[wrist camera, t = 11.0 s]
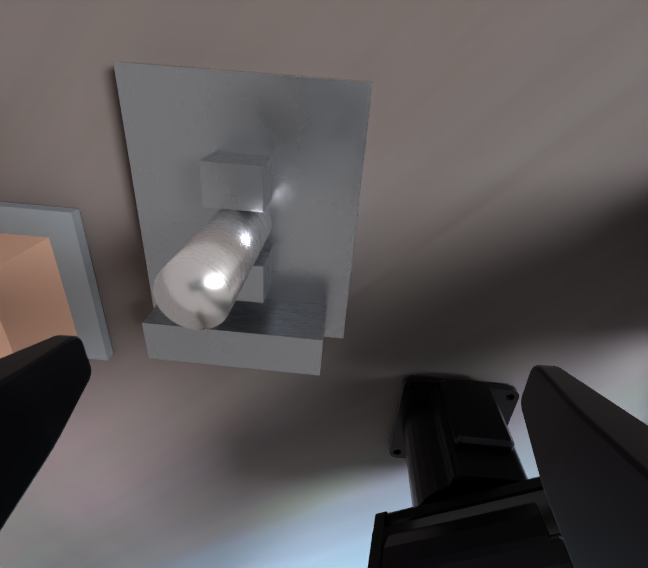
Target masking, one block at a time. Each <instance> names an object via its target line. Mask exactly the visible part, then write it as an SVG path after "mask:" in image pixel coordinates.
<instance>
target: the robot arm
mask: <svg viewBox="0 0 648 568" xmlns="http://www.w3.org/2000/svg"><path fill="white" fill-rule="evenodd" d="M90 375H91V366H90V363H89V360H88V357H87V354H86V351H85V347H84V344H83V342H82V340H81V339H80V338H79V337H77V336H70V335H56V336H53V337H51V338H48V339H46V340H43V341H41V342H39V343H36V344H34V345H31V346H29V347H26V348H24V349H22V350H19V351H17V352H14V353H12V354H10V355H7V356H5V357H2V358H0V531H1V529H2V528H3V526H4V524H5V523H6V521H7V520H8V518H9V517H10V515H11V514H12V512H13V510H14V509H15V507H16V506H17V504H18V503H19V501H20V500H21V498H22V497H23V495H24V493H25V492H26V490H27V489H28V487H29V486H30V484H31V483H32V481H33V479H34V478H35V476H36V475H37V473H38V472H39V470H40V469H41V467H42V465H43V464H44V462H45V461H46V459H47V458H48V456H49V454H50V453H51V451H52V450H53V448H54V446H55V444H56V442H57V441H58V439H59V437H60V435H61V433H62V431H63V429H64V428H65V426H66V424H67V422H68V420H69V418H70V416H71V414H72V412H73V410H74V408H75V406H76V404H77V402H78V400H79V399H80V397H81V395H82V393H83V391H84V389H85V387H86V385H87V383H88V381H89V379H90ZM411 384H415V385H414V386H409V385H411ZM508 394H510V395H508ZM518 399H519V394H518V392H517V390H516V388H515V387H513V386H509V385H499V384H488V383H478V382H468V381H458V380H448V379H438V378H428V377H418V376H409V377H406V378H405V379H404V381H403V384H402V389H401V393H400V398H399V403H398V407H397V412H396V416H395V421H394V426H393V430H392V435H391V439H390V444H389V451H390V455H391V456H393V457H398V458H406V460H407V467H408V475H409V482H410V490H411V498H412V505H413V507H411V508H407V509H403V510H399V511H395V512H390V513H387V512H382V513H378V514H376V515H375V522H374V529H373V533H372V541H371V548H370V555H369V563H368V568H648V425H646V424H645V423H643V422H642V421H640V420H639V419H637V418H635V417H634V416H632V415H631V414H629V413H628V412H626V411H625V410H623V409H622V408H620V407H619V406H617V405H616V404H614V403H613V402H611V401H610V400H608V399H607V398H605V397H603V396H602V395H600V394H599V393H597V392H596V391H594V390H593V389H591V388H590V387H588V386H587V385H585V384H584V383H582V382H581V381H579V380H578V379H576V378H575V377H573V376H572V375H570V374H568V373H567V372H565V371H564V370H562V369H561V368H559V367H556V366H545V365H536V366H534V367H533V368H532V370H531V372H530V374H529V377H528V380H527V383H526V386H525V389H524V392H523V394H522V399H521V407H522V412H523V415H524V419H525V423H526V427H527V430H528V434H529V438H530V442H531V445H532V449H533V453H534V457H535V460H536V464H537V468H538V471H539V475H540V476H539V477H535V478H531V479H528V478H527V476H526V473H525V471H524V469H523V466H522V464H521V461H520V459H519V457H518V454H517V452H516V449H515V447H514V441H513V439H512V436H511V434H510V432H509V429H508V427H507V425H508V423H509V421H510V418H511V416H512V413H513V411H514V408H515V406H516V404H517V401H518ZM396 449H397V450H396Z"/></svg>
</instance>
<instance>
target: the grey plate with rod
mask: <svg viewBox="0 0 648 568" xmlns="http://www.w3.org/2000/svg"><path fill="white" fill-rule="evenodd" d="M113 64H114V70H115V76H116V82H117V88H118V94H119V100H120V106H121V113H122V119H123V125H124V131H125V137H126V143H127V149H128V155H129V161H130V167H131V173H132V180H133V186H134V192H135V198H136V204H137V210H138V216H139V222H140V228H141V234H142V240H143V247H144V253H145V259H146V265H147V271H148V277H149V283H150V289H151V295H152V301H153V307H154V309H153V310H152V311H151V312H150V314H149V315H148V316H147V317H146V318H145V320H144V321H143V322H142V326H143V332H144V337H145V343H146V348H147V353H148V358H149V359H159V360H169V361H179V362H189V363H199V364H209V365H219V366H229V367H239V368H249V369H259V370H269V371H279V372H289V373H300V374H310V375H320V370H321V361H322V353H323V344H324V337H333V338H343V337H344V328H345V319H346V310H347V302H348V293H349V284H350V275H351V266H352V258H353V249H354V240H355V231H356V222H357V214H358V205H359V196H360V187H361V179H362V170H363V161H364V152H365V143H366V135H367V126H368V117H369V108H370V99H371V91H372V82H368V81H355V80H342V79H330V78H317V77H305V76H292V75H279V74H267V73H254V72H242V71H229V70H216V69H204V68H191V67H179V66H166V65H153V64H141V63H128V62H113Z"/></svg>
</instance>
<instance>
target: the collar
mask: <svg viewBox="0 0 648 568" xmlns="http://www.w3.org/2000/svg"><path fill="white" fill-rule="evenodd" d="M56 335H70V336H77V333H76V329H75V326H74V322H73V319H72V315H71V312H70V308H69V305H68V302H67V298H66V295H65V291H64V288H63V284H62V281H61V277H60V274H59V270H58V267H57V264H56V260H55V257H54V253H53V250H52V246H51V243H50V239H49V237H38V236H26V235H15V234H4V233H0V358H2V357H5V356H7V355H10V354H12V353H14V352H17V351H19V350H22V349H24V348H26V347H29V346H31V345H34V344H36V343H39V342H41V341H43V340H46V339H48V338H51V337H53V336H56Z"/></svg>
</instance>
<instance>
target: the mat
mask: <svg viewBox="0 0 648 568" xmlns="http://www.w3.org/2000/svg"><path fill="white" fill-rule="evenodd" d="M0 233H4V234H15V235H26V236H38V237H49V239H50V243H51V246H52V250H53V253H54V257H55V260H56V264H57V267H58V270H59V274H60V277H61V281H62V284H63V288H64V291H65V295H66V298H67V302H68V305H69V308H70V312H71V315H72V319H73V322H74V326H75V329H76V333H77V337H79V338H80V339H81V340H82V342H83V344H84V347H85V351H86V354H87V357H88V358H89V359H99V360H109V358H110V357H111V356H112V355H113V350H112V346H111V342H110V338H109V334H108V329H107V325H106V321H105V317H104V313H103V308H102V304H101V300H100V296H99V292H98V287H97V283H96V279H95V275H94V271H93V266H92V262H91V258H90V254H89V250H88V245H87V241H86V237H85V233H84V228H83V224H82V220H81V216H80V212H79V209H76V208H65V207H54V206H43V205H32V204H20V203H9V202H0Z"/></svg>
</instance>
